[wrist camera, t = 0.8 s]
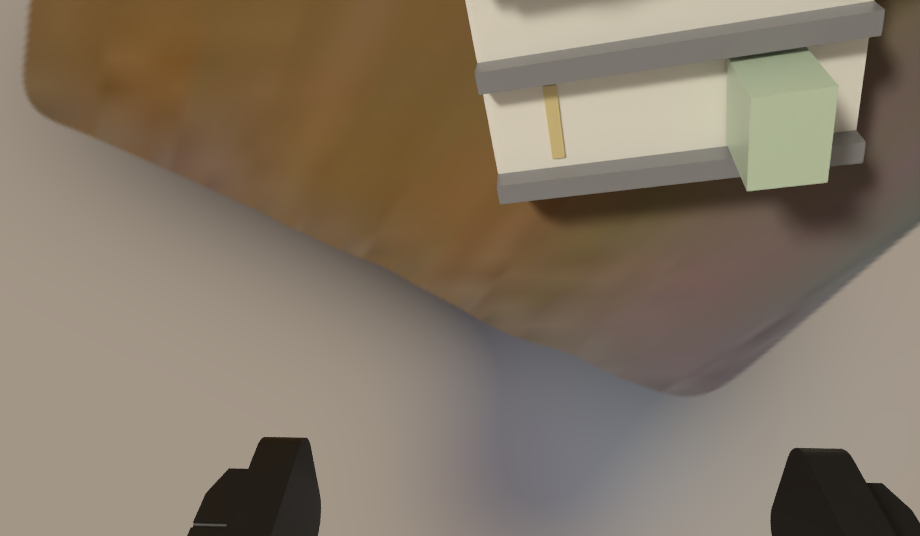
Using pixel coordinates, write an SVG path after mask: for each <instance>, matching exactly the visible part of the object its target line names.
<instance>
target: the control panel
mask: <svg viewBox="0 0 920 536" xmlns="http://www.w3.org/2000/svg"><path fill="white" fill-rule="evenodd" d="M465 1H466V6H467V11H468V17H469V22H470V27H471V32H472V38H473V43H474V48H475V54H476V59H477V66H476V70H475V77H476V82H477V88H478V93H479V95H483V96H484V101H485V106H486V112H487V117H488V122H489V128H490V133H491V138H492V143H493V149H494V154H495V159H496V165H497V170H498V180H497V191H498V196H499V202H500V204H507V203H516V202H525V201H534V200H542V199H551V198H560V197H569V196H578V195H586V194H595V193H604V192H613V191H621V190H630V189H639V188H648V187H657V186H665V185H674V184H683V183H692V182H701V181H709V180H718V179H727V178H736V177H740V174H739V172H738V170H737V167H736V165H735V163H734V160H733V158H732V156H731V153H730V151H729V148H728V146H727V144H726V111H727V62H728V58H734V57H740V56H747V55H754V54H761V53H767V52H774V51H781V50H788V49H795V48H801V47H807V48H808V50H809V51H810V52H811V53H812V54H813V56H814V57H815V58H816V59H817V60H818V62H819V63H820V64H821V65H822V66H823V68H824V69H825V70H826V71H827V72H828V74H829V75H830V76H831V77H832V78H833V80H834V81H835V82H836V83H837V84H838V86H839V89H838V98H837V106H836V115H835V124H834V132H833V141H832V149H831V158H830V167H832V166H841V165H850V164H859V163H863V159H864V152H865V145H866V142H865V140H864V139H863V138H862V137H861V135H860V134H859V133H858V132H857V130H856V129H857V122H858V114H859V107H860V99H861V92H862V85H863V77H864V70H865V63H866V55H867V48H868V41H869V37H876V36H882V29H883V22H884V15H885V9H884V8H882V7H881V6H880V5H879V4H877V3H876V2H875V1H874V0H465Z"/></svg>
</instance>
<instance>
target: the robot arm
mask: <svg viewBox="0 0 920 536" xmlns="http://www.w3.org/2000/svg"><path fill="white" fill-rule="evenodd" d="M320 515H321V499H320V493H319V488H318V482H317V477H316V472H315V467H314V462H313V456H312V451H311V446H310V442H309V440H308V439H307V438H287V437H264V438H262V439H261V440H260V442H259V443H258V446H257V448H256V451H255V453H254V456H253V458H252V461H251V463H250V466H249V469H228V470H227V471H226V472H225V473H224V474H223V476H222V477H221V478H220V479H219V480H218V481H217V482H216V483H215V484H214V485H213V486H212V487H211V488H210V489H209V491H208V492H207V493H206V494H205V496H204V499H203V501H202V503H201V506H200V508H199V510H198V512H197V515H196V517H195V519H194V522H193V523H194V525H193V528H191V529H190V531H189V533H188V535H187V536H318V532H319V526H320V517H321V516H320ZM771 533H772V536H920V523H919V521H918V520H917V518H916V516H915V515H914V513H913V512H912V510H911V509H910V508H909V507H908V506H907V505H905V504H904V503H903V502H902V501H901V500H900V499H899V498H898V497H896V495H894V494H893V493H892V492H891V491H890V490H889V489H888V488H887V487H886V486H885V485H883V484H882V483H866V482H865V480H864V478H863V476H862V474H861V473H860V471H859V469H858V467H857V465H856V464H855V462H854V460H853V459H852V457H851V455H850V454H849V453H848V452H847V451H845V450H843V449H817V448H816V449H815V448H795V449H793V450H792V451H791V452H790V454H789V456H788V459H787V462H786V466H785V468H784V472H783V475H782V478H781V481H780V484H779V487H778V490H777V493H776V496H775V500H774V503H773V506H772V510H771Z"/></svg>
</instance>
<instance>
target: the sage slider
mask: <svg viewBox="0 0 920 536" xmlns="http://www.w3.org/2000/svg"><path fill="white" fill-rule="evenodd" d="M838 89H839V86H838V84H837V83H836V82H835V81H834V80H833V78H832V77H831V76H830V75H829V74H828V72H827V71H826V70H825V69H824V68H823V66H822V65H821V64H820V63H819V62H818V60H817V59H816V58H815V57H814V56H813V54H812V53H811V52H810V51H809V50H808V48H807V47H801V48H795V49H788V50H781V51H774V52H767V53H761V54H754V55H747V56H740V57H734V58H728V62H727V111H726V144H727V146H728V148H729V151H730V153H731V156H732V158H733V160H734V163H735V165H736V167H737V170H738V172H739V174H740V177H741V179H742V181H743V184H744V186H745V188H746V191H755V190H764V189H773V188H782V187H792V186H801V185H810V184H819V183H828V175H829V167H830V158H831V149H832V141H833V132H834V124H835V115H836V106H837V98H838Z"/></svg>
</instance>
